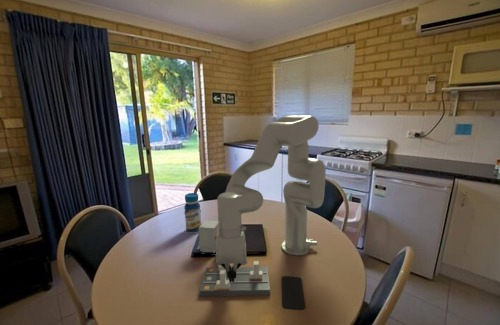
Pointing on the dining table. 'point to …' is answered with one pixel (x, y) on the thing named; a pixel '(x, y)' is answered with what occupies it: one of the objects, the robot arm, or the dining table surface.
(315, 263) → the dining table surface
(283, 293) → the phone
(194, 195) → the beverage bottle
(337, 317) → the dining table surface
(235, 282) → the switch panel
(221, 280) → the front switch tab
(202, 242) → the supplement box
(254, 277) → the middle switch tab
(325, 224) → the dining table surface
